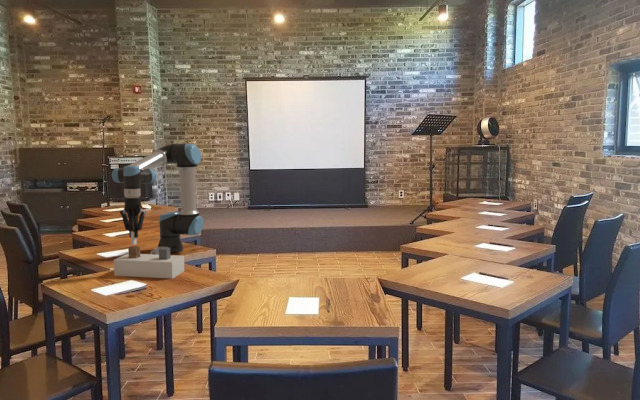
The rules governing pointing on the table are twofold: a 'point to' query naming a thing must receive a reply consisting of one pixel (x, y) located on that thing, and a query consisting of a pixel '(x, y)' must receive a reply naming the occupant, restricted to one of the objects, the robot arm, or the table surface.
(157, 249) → the cup
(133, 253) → the walnut peg
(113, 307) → the table surface
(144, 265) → the grey rectangular block
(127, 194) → the robot arm
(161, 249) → the charcoal peg
